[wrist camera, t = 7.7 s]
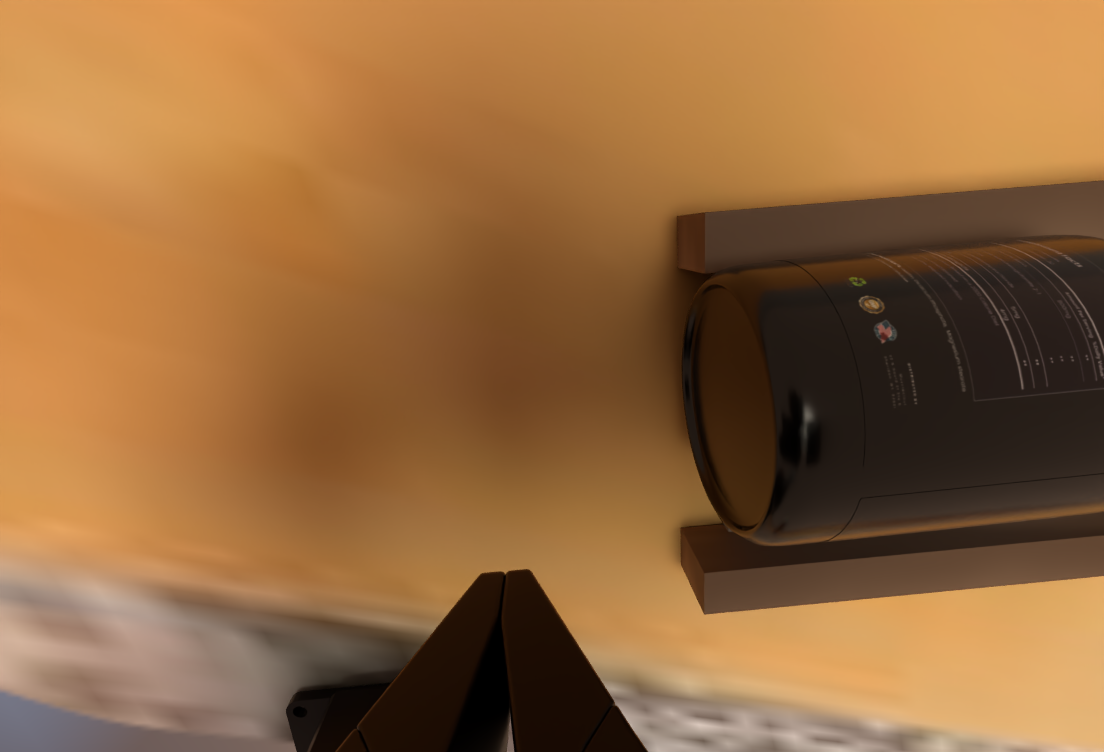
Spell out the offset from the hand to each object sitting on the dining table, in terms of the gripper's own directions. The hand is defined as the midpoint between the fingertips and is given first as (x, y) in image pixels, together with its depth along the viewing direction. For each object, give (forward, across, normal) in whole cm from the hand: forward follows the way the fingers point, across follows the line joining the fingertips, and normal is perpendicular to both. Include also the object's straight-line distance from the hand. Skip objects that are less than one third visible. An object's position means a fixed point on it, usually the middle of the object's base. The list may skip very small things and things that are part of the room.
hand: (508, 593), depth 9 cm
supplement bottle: (+4, -5, -2) cm, 7 cm away
